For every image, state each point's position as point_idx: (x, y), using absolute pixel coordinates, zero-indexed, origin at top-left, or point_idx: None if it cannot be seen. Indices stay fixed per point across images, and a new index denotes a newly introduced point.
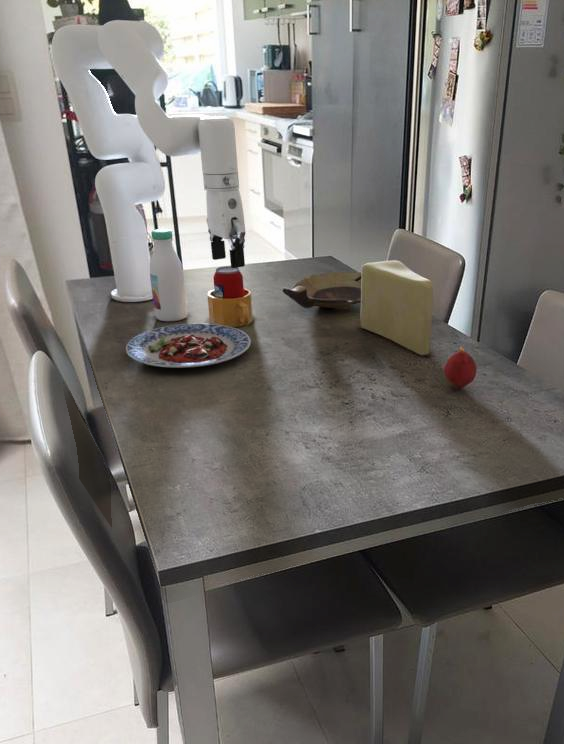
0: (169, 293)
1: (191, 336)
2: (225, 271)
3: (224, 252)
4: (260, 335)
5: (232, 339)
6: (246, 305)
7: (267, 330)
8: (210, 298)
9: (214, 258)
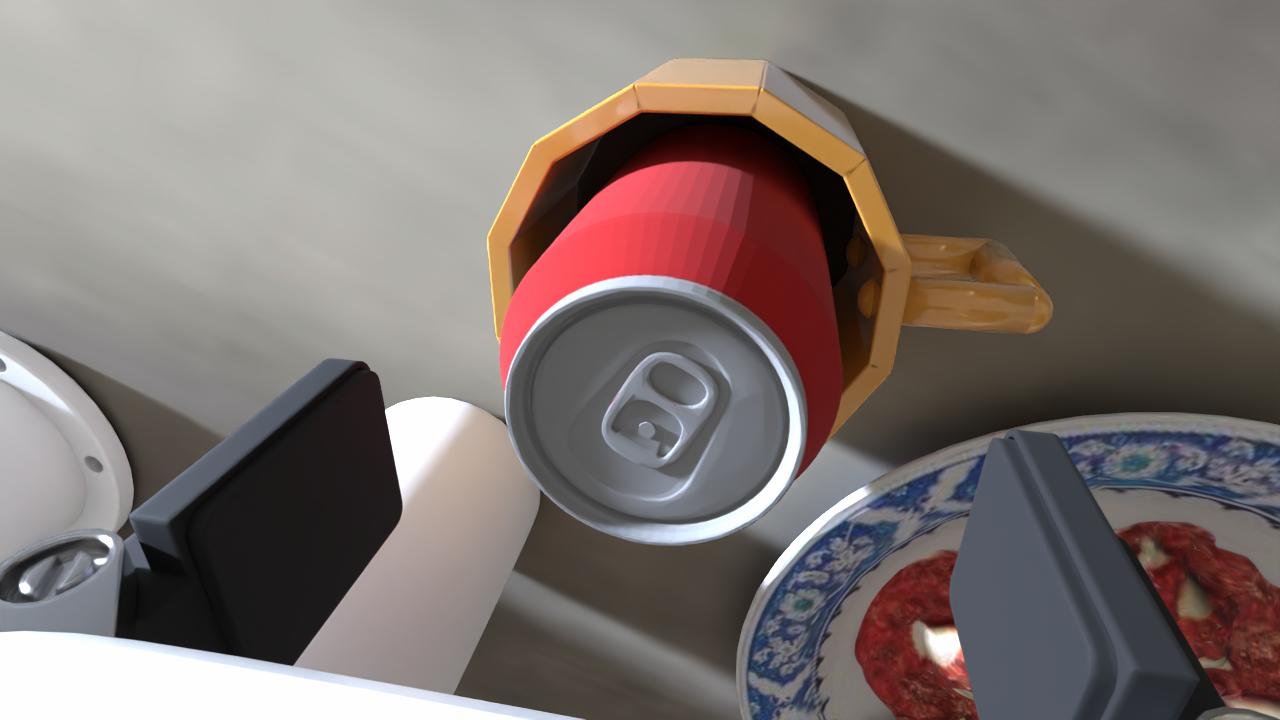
0: (481, 634)
1: None
2: (707, 476)
3: (329, 416)
4: (1169, 228)
5: (1189, 493)
6: (1048, 313)
7: (1121, 118)
8: None
9: (398, 521)
